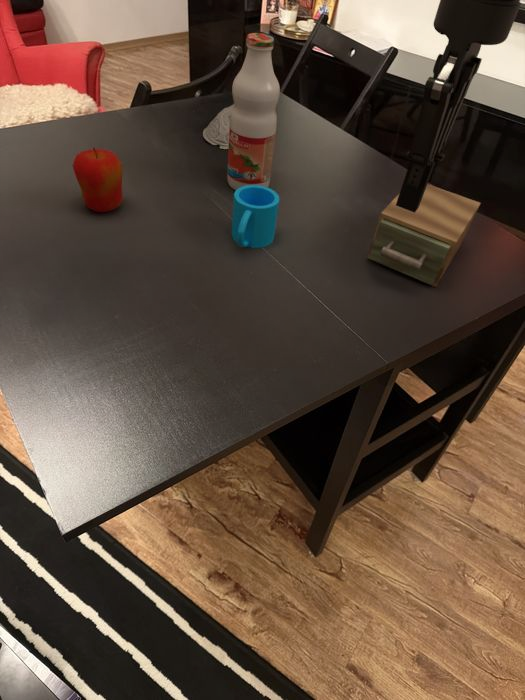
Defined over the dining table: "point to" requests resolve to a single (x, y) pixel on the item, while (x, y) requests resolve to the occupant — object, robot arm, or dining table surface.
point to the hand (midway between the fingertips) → (407, 206)
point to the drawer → (408, 251)
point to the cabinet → (435, 219)
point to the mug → (254, 216)
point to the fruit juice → (253, 116)
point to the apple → (99, 179)
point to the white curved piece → (219, 129)
